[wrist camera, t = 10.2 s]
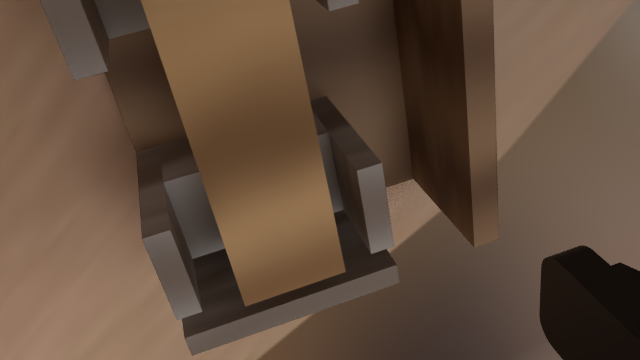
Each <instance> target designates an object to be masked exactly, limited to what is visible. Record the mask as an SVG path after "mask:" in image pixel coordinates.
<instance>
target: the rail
mask: <svg viewBox="0 0 640 360" xmlns="http://www.w3.org/2000/svg"><path fill="white" fill-rule="evenodd" d="M141 2H142V5H143V8H144V11H145V14H146V17H147V20H148V23H149V26H150V29H151V31H152V34H153V37H154V40H155V43H156V46H157V49H158V52H159V55H160V58H161V61H162V64H163V67H164V70H165V73H166V75H167V78H168V81H169V84H170V87H171V90H172V93H173V96H174V99H175V102H176V105H177V108H178V111H179V114H180V117H181V120H182V122H183V125H184V128H185V131H186V134H187V137H188V140H189V143H190V146H191V149H192V152H193V155H194V158H195V161H196V164H197V167H198V169H199V172H200V175H201V178H202V181H203V184H204V187H205V190H206V193H207V196H208V199H209V202H210V205H211V208H212V211H213V213H214V216H215V219H216V222H217V225H218V228H219V231H220V234H221V237H222V240H223V243H224V246H225V249H226V252H227V255H228V258H229V260H230V263H231V266H232V269H233V272H234V275H235V278H236V281H237V284H238V287H239V290H240V293H241V296H242V299H243V302H244V305H245V307H246V306H249V305H251V304H254V303H257V302H260V301H263V300H266V299H269V298H272V297H275V296H277V295H280V294H283V293H286V292H289V291H292V290H295V289H298V288H301V287H304V286H306V285H309V284H312V283H315V282H318V281H321V280H324V279H327V278H330V277H332V276H335V275H338V274H341V273H344V272H346V270H345V266H344V261H343V256H342V251H341V246H340V242H339V237H338V232H337V227H336V222H335V218H334V213H333V208H332V203H331V198H330V194H329V189H328V184H327V179H326V174H325V170H324V165H323V160H322V155H321V150H320V146H319V141H318V136H317V131H316V126H315V122H314V117H313V112H312V107H311V102H310V98H309V93H308V88H307V83H306V78H305V74H304V69H303V64H302V59H301V54H300V50H299V45H298V40H297V35H296V31H295V26H294V21H293V16H292V11H291V7H290V2H289V0H141Z"/></svg>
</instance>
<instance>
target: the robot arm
mask: <svg viewBox="0 0 640 360" xmlns="http://www.w3.org/2000/svg"><path fill="white" fill-rule="evenodd" d="M540 322H541V326H542V329H543V331H544V333H545V336H546V337H547V339H548V341H549V343H550V344H551V345H552V347H553V348H554V349H555V351H557V353H558V354H559V355H560V356H561V358H562V359H563V360H640V271H638V270H636V269H633V268H631V267H629V266H627V265H625V264H622V263H618V264H615V265H612V266H610V265H609V264H608V263H607V262H606V261H605V260H603V259H602V258H601V257H600V256H599V255H597V253H595V252H594V251H593V250H592V249H591V248H589V247H587V246H578V247H575V248H573V249H570V250H567V251H564V252H561V253H558V254H555V255H553V256H550V257H547V258H545V259H544V260H543V262H542V267H541V289H540Z"/></svg>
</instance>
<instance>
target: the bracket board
mask: <svg viewBox="0 0 640 360" xmlns="http://www.w3.org/2000/svg"><path fill="white" fill-rule="evenodd" d="M40 2H41V4H42V7H43V9H44V11H45V14H46V16H47V18H48V21H49V23H50V25H51V28H52V30H53V32H54V35H55V37H56V39H57V42H58V44H59V46H60V49H61V51H62V53H63V56H64V58H65V60H66V63H67V65H68V67H69V70H70V72H71V74H72V77H73V79H74V80H78V79H82V78H85V77H89V76H93V75H96V74H100V73H104V72H105V74H106V77H107V79H108V82H109V85H110V87H111V90H112V92H113V95H114V97H115V100H116V102H117V105H118V107H119V110H120V112H121V115H122V117H123V120H124V122H125V125H126V127H127V130H128V132H129V135H130V138H131V140H132V143H133V145H134V148H135V150H136V155H137V170H138V185H139V200H140V215H141V230H142V240H143V242H144V245H145V247H146V249H147V252H148V254H149V256H150V259H151V261H152V263H153V266H154V268H155V270H156V273H157V275H158V277H159V280H160V282H161V284H162V287H163V289H164V291H165V294H166V296H167V298H168V301H169V303H170V305H171V308H172V310H173V312H174V315H175V317H176V319H177V320H180V319H182V323H183V330H184V337H185V340H186V343H187V345H188V347H189V350H190V352H191V354H192V356H193V355H195V354H198V353H201V352H204V351H207V350H210V349H213V348H215V347H218V346H221V345H224V344H227V343H230V342H232V341H235V340H238V339H241V338H244V337H247V336H249V335H252V334H255V333H258V332H261V331H264V330H267V329H269V328H272V327H275V326H278V325H281V324H284V323H286V322H289V321H292V320H295V319H298V318H301V317H303V316H306V315H309V314H312V313H315V312H318V311H320V310H323V309H326V308H329V307H332V306H335V305H338V304H340V303H343V302H346V301H349V300H352V299H355V298H357V297H360V296H363V295H366V294H369V293H372V292H374V291H377V290H380V289H383V288H386V287H389V286H391V285H394V284H397V283H399V277H398V270H397V265H396V263H395V261H394V260H393V258H392V257H391V256H390V254H389V252H388V251H387V248H390V247H393V246H394V242H393V236H392V229H391V222H390V215H389V208H388V201H387V194H386V187H389V186H392V185H395V184H398V183H401V182H404V181H407V180H410V179H414V180H415V181H416V182H417V183H418V184H419V186H420V187H421V188H422V189H423V190H424V191H425V192H426V194H427V195H428V196H429V197H430V198H431V199H432V200H433V201H434V203H435V204H436V205H437V206H438V207H439V208H440V209H441V210H442V212H443V213H444V214H445V215H446V216H447V217H448V218H449V219H450V221H451V222H452V223H453V224H454V225H455V226H456V227H457V229H458V230H459V231H460V232H461V233H462V234H463V235H464V236H465V238H466V239H467V240H468V241H469V242H470V243H471V244H472V246H473V247H474V248H475V247H478V246H481V245H484V244H487V243H489V242H492V241H495V240H498V239H499V222H498V183H497V143H496V104H495V64H494V25H493V0H289V2H290V7H291V11H292V16H293V21H294V26H295V31H296V35H297V40H298V45H299V50H300V54H301V59H302V64H303V69H304V74H305V78H306V83H307V88H308V93H309V98H310V102H311V107H312V112H313V117H314V122H315V126H316V131H317V136H318V141H319V146H320V150H321V155H322V160H323V165H324V170H325V174H326V179H327V184H328V189H329V194H330V198H331V203H332V208H333V213H334V218H335V222H336V227H337V232H338V237H339V242H340V246H341V251H342V256H343V261H344V266H345V270H346V272H344V273H341V274H338V275H335V276H332V277H330V278H327V279H324V280H321V281H318V282H315V283H312V284H309V285H306V286H304V287H301V288H298V289H295V290H292V291H289V292H286V293H283V294H280V295H277V296H275V297H272V298H269V299H266V300H263V301H260V302H257V303H254V304H251V305H249V306H246V307H245V305H244V302H243V299H242V296H241V293H240V290H239V287H238V284H237V281H236V278H235V275H234V272H233V269H232V266H231V263H230V260H229V258H228V255H227V252H226V249H225V246H224V243H223V240H222V237H221V234H220V231H219V228H218V225H217V222H216V219H215V216H214V213H213V211H212V208H211V205H210V202H209V199H208V196H207V193H206V190H205V187H204V184H203V181H202V178H201V175H200V172H199V169H198V167H197V164H196V161H195V158H194V155H193V152H192V149H191V146H190V143H189V140H188V137H187V134H186V131H185V128H184V125H183V122H182V120H181V117H180V114H179V111H178V108H177V105H176V102H175V99H174V96H173V93H172V90H171V87H170V84H169V81H168V78H167V75H166V73H165V70H164V67H163V64H162V61H161V58H160V55H159V52H158V49H157V46H156V43H155V40H154V37H153V34H152V31H151V29H150V26H149V23H148V20H147V17H146V14H145V11H144V8H143V5H142V2H141V0H40Z"/></svg>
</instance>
